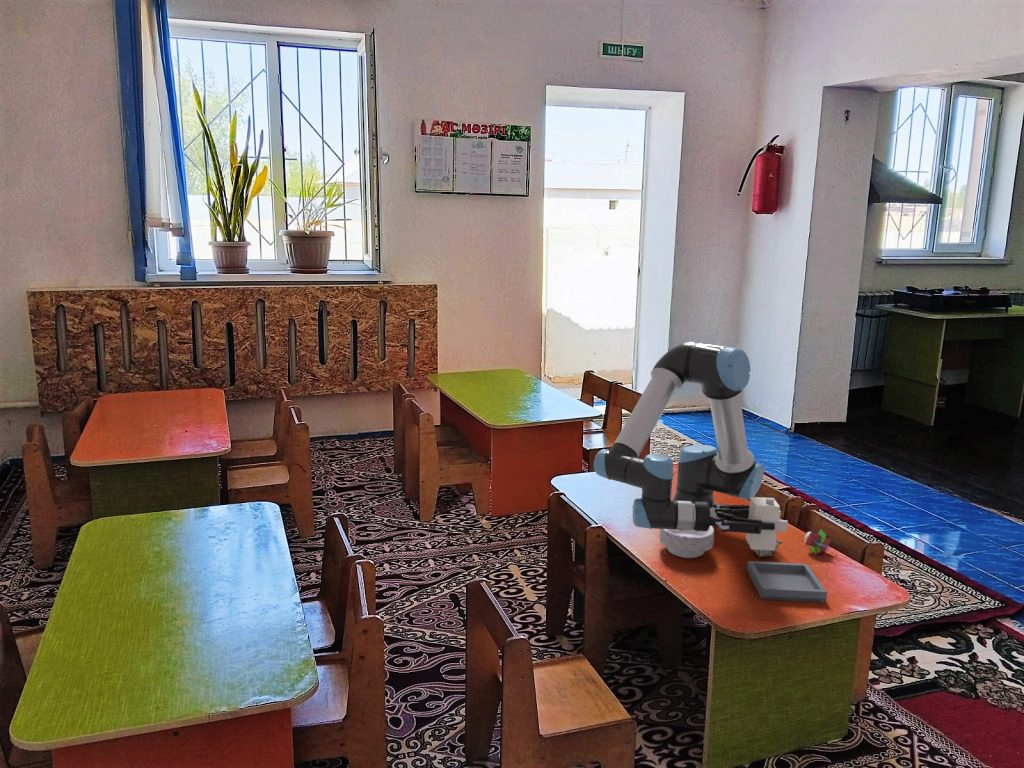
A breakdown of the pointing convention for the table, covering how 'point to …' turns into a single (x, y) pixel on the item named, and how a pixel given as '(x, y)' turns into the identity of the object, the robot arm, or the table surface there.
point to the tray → (786, 582)
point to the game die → (766, 551)
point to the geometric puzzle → (817, 541)
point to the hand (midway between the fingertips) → (783, 520)
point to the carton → (758, 511)
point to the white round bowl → (687, 541)
